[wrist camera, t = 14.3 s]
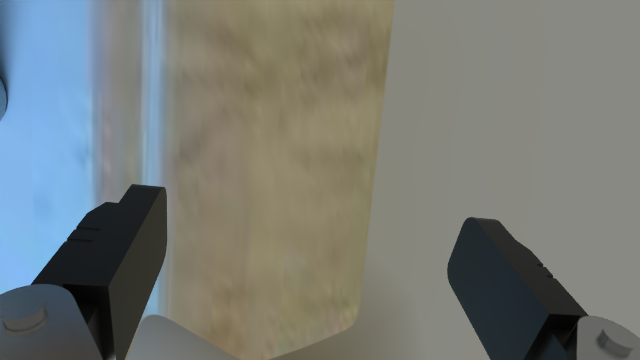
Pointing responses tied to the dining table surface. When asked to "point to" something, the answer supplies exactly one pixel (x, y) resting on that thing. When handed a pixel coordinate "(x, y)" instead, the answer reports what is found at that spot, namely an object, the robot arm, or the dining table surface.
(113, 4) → the dining table surface
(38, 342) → the robot arm
